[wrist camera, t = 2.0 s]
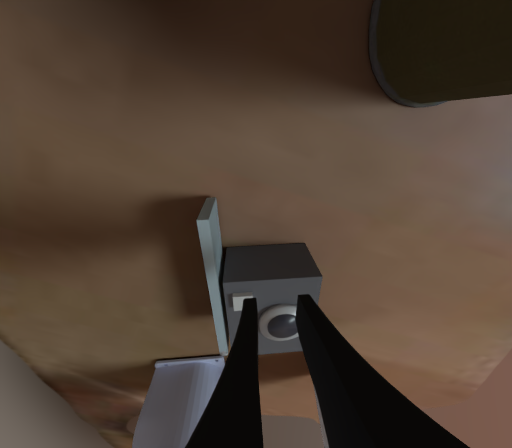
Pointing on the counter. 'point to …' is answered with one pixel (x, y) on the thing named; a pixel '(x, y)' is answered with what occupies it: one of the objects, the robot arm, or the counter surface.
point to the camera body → (270, 290)
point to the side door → (214, 268)
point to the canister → (441, 49)
